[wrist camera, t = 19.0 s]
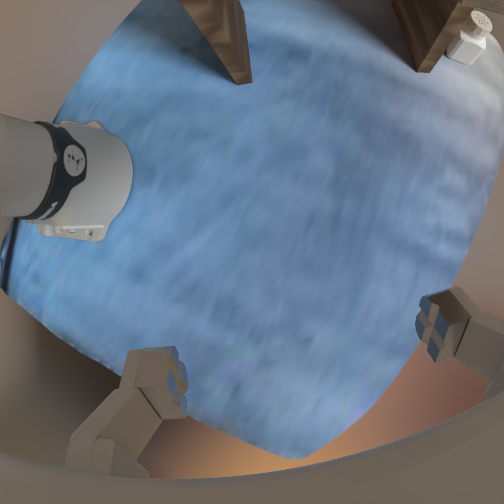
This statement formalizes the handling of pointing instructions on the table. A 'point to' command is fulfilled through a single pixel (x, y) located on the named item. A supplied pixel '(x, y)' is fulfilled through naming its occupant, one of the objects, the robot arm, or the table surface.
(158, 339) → the table surface
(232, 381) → the table surface
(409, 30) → the walnut shelf
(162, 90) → the table surface
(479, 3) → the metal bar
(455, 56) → the pepper shaker
